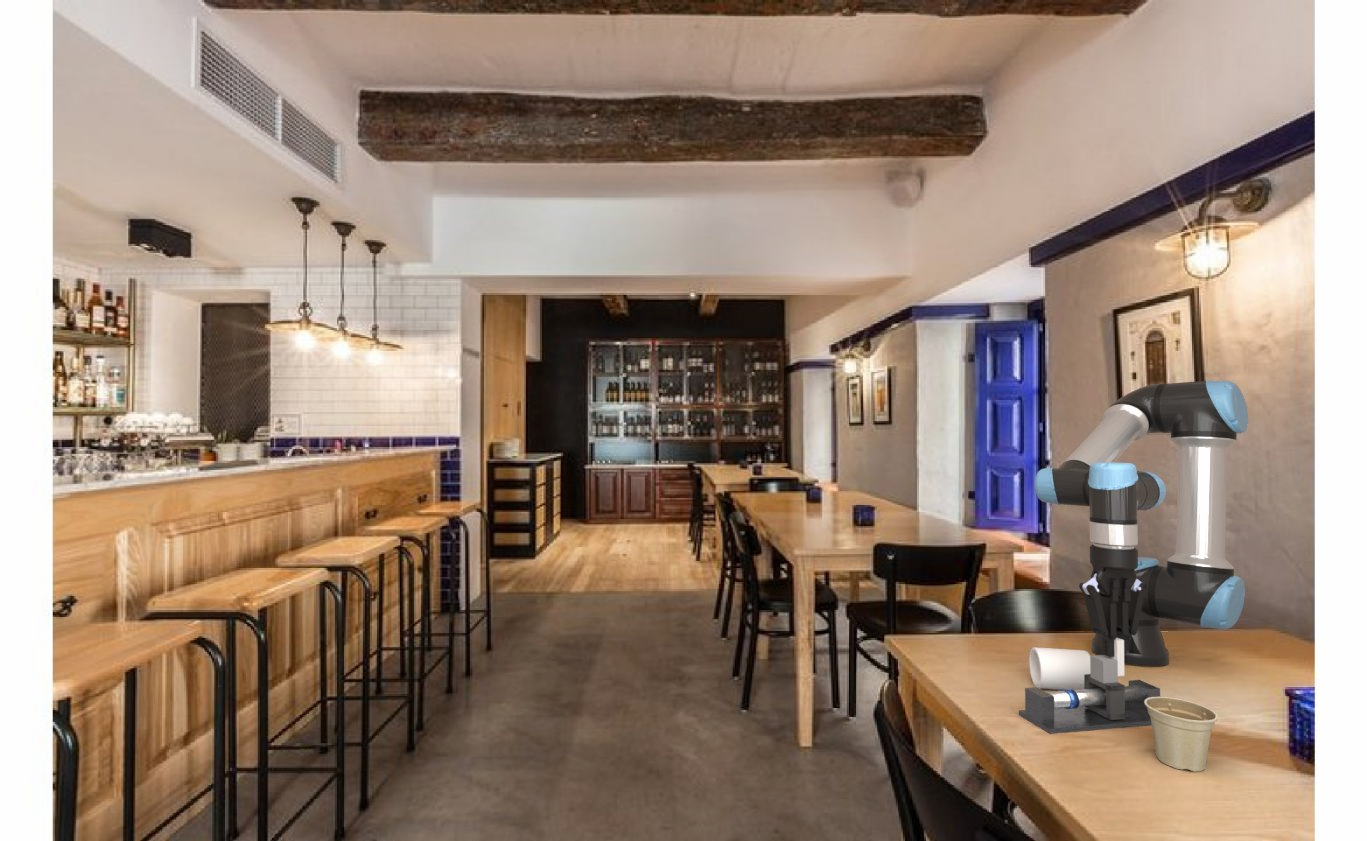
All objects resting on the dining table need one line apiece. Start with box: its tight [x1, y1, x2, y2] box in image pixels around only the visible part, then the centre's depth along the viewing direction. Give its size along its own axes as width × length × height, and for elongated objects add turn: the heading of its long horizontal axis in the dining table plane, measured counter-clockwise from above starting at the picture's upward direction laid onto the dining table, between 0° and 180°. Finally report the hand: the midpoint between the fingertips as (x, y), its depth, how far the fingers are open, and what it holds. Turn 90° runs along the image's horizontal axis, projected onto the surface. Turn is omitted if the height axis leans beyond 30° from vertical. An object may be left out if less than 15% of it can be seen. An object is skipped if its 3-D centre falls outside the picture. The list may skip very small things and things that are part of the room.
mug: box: [1028, 646, 1091, 691], centre depth 137 cm, size 12×10×8 cm
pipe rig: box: [1018, 679, 1161, 735], centre depth 121 cm, size 24×8×6 cm, turn 100°
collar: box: [1084, 654, 1125, 720], centre depth 121 cm, size 3×6×10 cm, turn 10°
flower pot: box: [1144, 696, 1219, 773], centre depth 105 cm, size 9×9×9 cm
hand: (1114, 673), depth 121 cm, fingers closed
